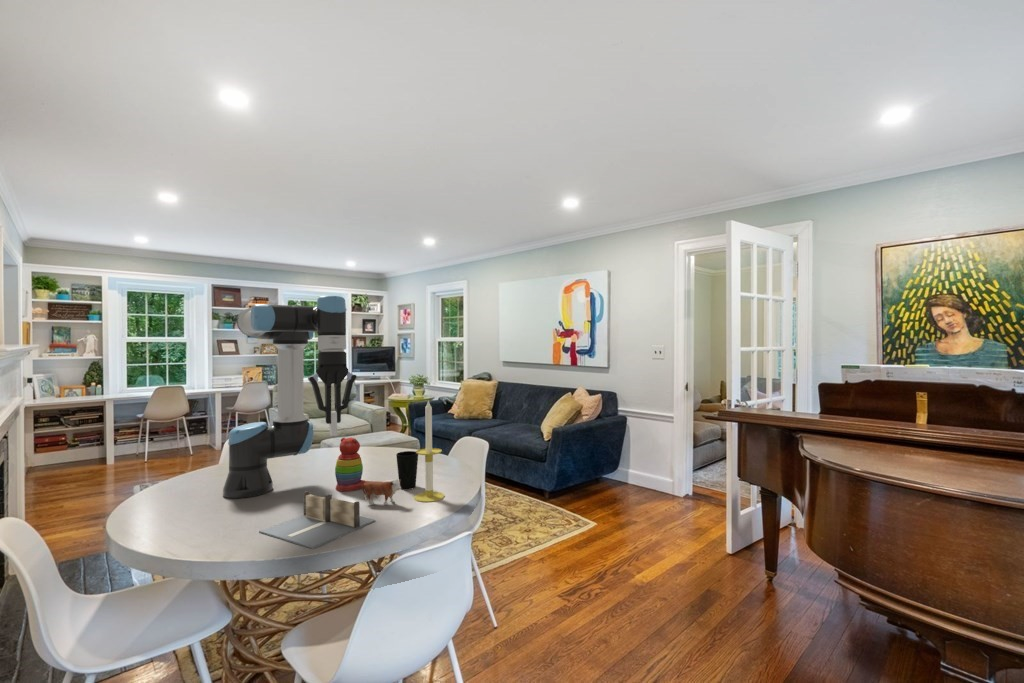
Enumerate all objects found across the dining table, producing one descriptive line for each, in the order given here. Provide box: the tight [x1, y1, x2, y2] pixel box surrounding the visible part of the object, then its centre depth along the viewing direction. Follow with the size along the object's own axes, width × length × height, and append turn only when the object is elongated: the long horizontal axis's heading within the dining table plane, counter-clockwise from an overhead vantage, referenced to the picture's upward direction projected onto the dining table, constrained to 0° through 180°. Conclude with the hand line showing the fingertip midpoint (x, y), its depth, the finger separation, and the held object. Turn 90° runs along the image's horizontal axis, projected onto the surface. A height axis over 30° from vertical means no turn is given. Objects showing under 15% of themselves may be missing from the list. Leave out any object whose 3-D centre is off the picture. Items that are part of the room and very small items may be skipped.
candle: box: [413, 399, 445, 503], centre depth 157 cm, size 10×10×32 cm
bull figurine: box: [362, 478, 402, 506], centre depth 151 cm, size 4×13×8 cm, turn 78°
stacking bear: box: [334, 437, 366, 493], centre depth 168 cm, size 11×10×18 cm
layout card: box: [258, 514, 376, 550], centre depth 132 cm, size 22×21×1 cm
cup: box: [396, 450, 419, 490], centre depth 168 cm, size 8×8×12 cm
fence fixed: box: [303, 490, 333, 522], centre depth 138 cm, size 11×2×7 cm, turn 60°
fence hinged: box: [330, 498, 361, 527], centre depth 132 cm, size 11×1×7 cm, turn 60°
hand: (333, 434), depth 132 cm, fingers closed
